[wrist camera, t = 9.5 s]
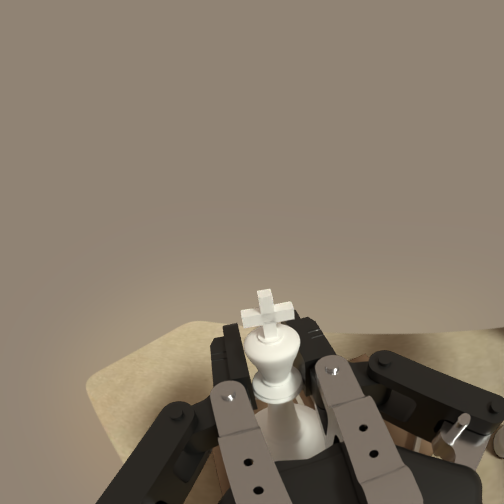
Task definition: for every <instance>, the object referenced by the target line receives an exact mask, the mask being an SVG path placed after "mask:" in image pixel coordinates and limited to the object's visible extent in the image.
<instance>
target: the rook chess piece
mask: <svg viewBox="0 0 504 504" xmlns="http://www.w3.org/2000/svg"><path fill="white" fill-rule="evenodd" d="M494 450H495V452H496V454H497V455H498V456H499V457H503V458H504V425H503V426H502V428H500V429H499V430H498V431H497V433H496V434H495V438H494Z"/></svg>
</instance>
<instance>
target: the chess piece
mask: <svg viewBox="0 0 504 504" xmlns="http://www.w3.org/2000/svg"><path fill="white" fill-rule="evenodd" d="M257 294H258V301H259V307H258V308H252V309H246V310H241V316H242V322H243V326H244V328H249V327H255V326H260V325H263V326H260V327H258V328H256V329H254V330H253V331H251V332H250V333H249V334H248V335H247V337H246V338H245V341H244V351H245V353H246V355H247V357H248V358H249V359H250V361H251V362H252V363H253V364H254V365H255V366H256V367H257V369H258V372H257V373H256V374H255V376H254V378H253V382H252V388H253V392H254V395H255V396H256V397H257V398H258V399H259V400H261V401H263V402H265V403H268V407H267V408H265V409H263V410H261V411H259V412H258V413H256V414H255V417H256V420H257V422H258V425H259V426H260V428H261V431H262V433H263V436H264V438H265V441H266V443H267V446H268V448H269V451H270V453H271V456H272V458H273V460H274V462H275V461H283V460H302V459H309V458H311V457H313V456H315V455H317V454H318V453H320V452H322V451H323V450H325V441H324V437H323V433H322V430H321V427H320V423H319V420H318V417H317V413H316V411H315V410H314V409H312V408H310V407H307V406H304V405H301V404H295V403H293V399H294V398H296V397H297V396H298V395H299V394H300V392H301V391H302V389H303V386H304V383H303V380H302V376H301V373H300V372H299V370H298V369H297V368H295V367H294V366H292V365H293V362H294V359H295V357H296V355H297V353H298V350H299V347H300V337H299V335H298V333H297V332H296V331H295V330H294V329H293V328H291V327H289V326H287V325H283V324H276V322H282V321H287V320H292V319H295V317H294V308H293V305H292V303H291V302H285V303H279V304H273V296H272V293H271V289H266V290H260V291H257Z"/></svg>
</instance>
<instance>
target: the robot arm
mask: <svg viewBox="0 0 504 504" xmlns="http://www.w3.org/2000/svg"><path fill="white" fill-rule="evenodd" d="M294 317H295V319H292V320H287V321H282V322H281V324H283V325H287V326H289V327H291V328H293V329H294V330H295V331H296V332H297V333H298V335H299V337H300V347H299V350H298V353H297V355H296V357H295V359H294V362H293V365H292V366H294V367H295V368H297V369H298V370H299V372H300V373H301V376H302V380H303V383H304V386H303V391H304V394H305V396H306V397H307V396H311V395H312V396H313V398H314V400H315V410H316V413H317V417H318V420H319V423H320V427H321V430H322V433H323V437H324V441H325V450H323V451H322V452H320V453H318V454H317V455H315V456H313V457H311V458H309V459H302V460H283V461H275V462H274V460H273V458H272V456H271V453H270V451H269V448H268V446H267V443H266V441H265V438H264V436H263V433H262V431H261V428H260V426H259V425H258V422H257V420H256V417H255V415H254V411H253V410H256V409H258V408H257V404H256V400H255V396H254V392H253V388H252V383H251V379H250V375H249V371H248V367H247V362H246V358H245V354H244V350H243V345H242V341H241V337H240V332H239V328H238V324H237V323H235V324H230V325H225V326H223V333H224V336H223V337H218V338H214V339H213V341H212V343H211V345H210V350H211V361H212V374H213V389H212V391H211V393H210V395H209V396H208V397H207V398H206V399H205V400H203V401H201V402H199V403H196V404H194V405H192V406H191V405H190V404H188V403H186V402H181V401H177V402H173V403H170V404H168V405H167V406H165V407H164V408H163V409H162V411H161V412H160V414H159V415H158V417H157V418H156V419H155V421H154V422H153V424H152V425H151V427H150V428H149V429H148V431H147V432H146V434H145V435H144V437H143V438H142V439H141V441H140V442H139V444H138V445H137V447H136V448H135V449H134V451H133V452H132V454H131V455H130V456H129V458H128V459H127V461H126V462H125V463H124V465H123V466H122V468H121V469H120V470H119V472H118V473H117V475H116V476H115V477H114V479H113V480H112V482H111V483H110V484H109V486H108V487H107V489H106V490H105V491H104V493H103V494H102V496H101V497H100V498H99V500H98V501H97V502H96V504H183V503H184V501H185V499H186V498H187V496H188V494H189V492H190V490H191V489H192V487H193V485H194V483H195V481H196V479H197V478H198V476H199V474H200V472H201V470H202V468H203V466H204V465H205V463H206V461H207V459H208V457H209V455H210V453H211V451H212V449H213V448H214V447H216V446H218V445H219V446H220V450H221V454H222V457H223V461H224V465H225V469H226V472H227V476H228V479H229V483H230V486H231V487H230V488H229V489H228V490H227V491H226V492H225V494H224V495H223V497H222V498H221V500H220V501H219V503H218V504H482V483H481V479H480V477H479V475H478V474H477V473H476V469H477V466H478V464H479V462H480V460H481V458H482V456H483V453H484V451H485V449H486V446H487V444H488V441H489V439H490V436H491V434H492V433H493V432H494V431H495V430H496V429H497V428H498V426H499V425H500V424H501V423H502V422H503V420H504V398H503V397H502V396H500V395H497V394H494V393H492V392H489V391H486V390H484V389H481V388H479V387H476V386H473V385H471V384H468V383H466V382H463V381H461V380H458V379H456V378H453V377H451V376H448V375H446V374H443V373H441V372H438V371H436V370H434V369H431V368H429V367H426V366H424V365H422V364H419V363H417V362H415V361H412V360H410V359H408V358H405V357H403V356H401V355H398V354H396V353H394V352H391V351H387V350H382V351H377V352H375V353H374V354H372V355H371V356H370V358H369V361H364V362H348V361H347V360H346V359H345V358H343V357H341V356H337V355H336V353H335V351H334V350H333V348H332V347H331V345H330V344H329V342H328V340H327V339H326V337H325V336H324V335H323V333H322V331H321V330H320V328H319V326H318V325H317V323H316V322H315V321H314V320H312V319H310V318H309V317H306V318H302V319H300V317H299V315H298V313H297V312H296V310H294ZM383 419H384V420H386V421H387V422H389V423H391V424H393V425H395V426H397V427H399V428H401V429H403V430H405V431H407V432H409V433H411V434H413V435H415V436H417V437H419V438H421V439H423V440H426V441H428V442H430V443H431V446H432V450H433V453H434V455H435V456H438V457H439V456H440V457H441V458H442V459H438V458H435V457H431V456H428V455H425V454H422V453H418V452H415V451H412V450H409V449H406V448H404V447H401V446H398V445H395V444H394V442H393V440H392V438H391V436H390V433H389V431H388V429H387V427H386V425H385V423H384V421H383Z"/></svg>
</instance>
